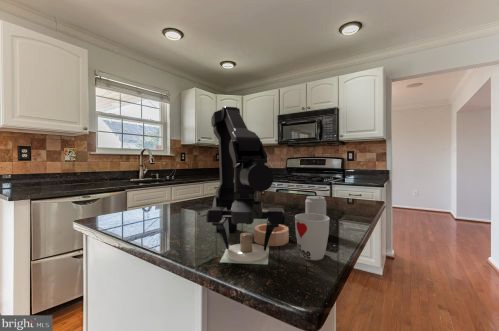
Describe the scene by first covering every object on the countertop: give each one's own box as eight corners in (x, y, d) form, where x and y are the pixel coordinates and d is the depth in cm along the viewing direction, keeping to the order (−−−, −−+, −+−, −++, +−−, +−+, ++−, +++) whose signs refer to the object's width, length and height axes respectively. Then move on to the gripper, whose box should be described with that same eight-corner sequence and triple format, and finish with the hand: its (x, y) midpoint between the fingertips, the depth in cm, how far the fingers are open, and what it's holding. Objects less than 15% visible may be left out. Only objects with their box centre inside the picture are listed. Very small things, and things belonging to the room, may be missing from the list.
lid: (221, 261, 55) (220, 240, 55) (229, 245, 65) (229, 228, 65) (266, 263, 54) (266, 242, 54) (267, 246, 64) (267, 229, 64)
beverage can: (327, 238, 73) (327, 198, 73) (305, 236, 75) (305, 198, 74) (325, 231, 79) (325, 195, 79) (305, 230, 81) (305, 195, 80)
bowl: (253, 247, 66) (252, 232, 66) (255, 236, 75) (255, 223, 75) (289, 248, 65) (289, 233, 65) (287, 236, 74) (287, 224, 74)
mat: (219, 264, 55) (219, 262, 55) (228, 247, 66) (228, 245, 66) (267, 266, 54) (267, 264, 54) (269, 248, 65) (269, 246, 65)
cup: (291, 252, 62) (291, 213, 62) (321, 250, 63) (321, 212, 63) (300, 265, 54) (300, 221, 54) (335, 264, 55) (335, 220, 55)
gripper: (198, 190, 52) (199, 261, 53) (285, 191, 50) (285, 265, 51) (212, 185, 63) (212, 243, 64) (283, 185, 61) (283, 246, 62)
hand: (246, 249), depth 60 cm, fingers open, 9 cm apart
